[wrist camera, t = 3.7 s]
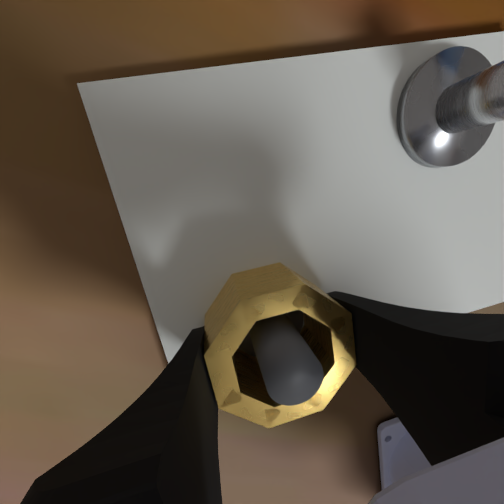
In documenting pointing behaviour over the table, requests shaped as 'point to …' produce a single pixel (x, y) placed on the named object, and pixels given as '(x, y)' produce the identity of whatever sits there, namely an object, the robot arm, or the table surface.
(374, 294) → the board
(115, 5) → the table surface
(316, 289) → the ring
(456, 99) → the hub
